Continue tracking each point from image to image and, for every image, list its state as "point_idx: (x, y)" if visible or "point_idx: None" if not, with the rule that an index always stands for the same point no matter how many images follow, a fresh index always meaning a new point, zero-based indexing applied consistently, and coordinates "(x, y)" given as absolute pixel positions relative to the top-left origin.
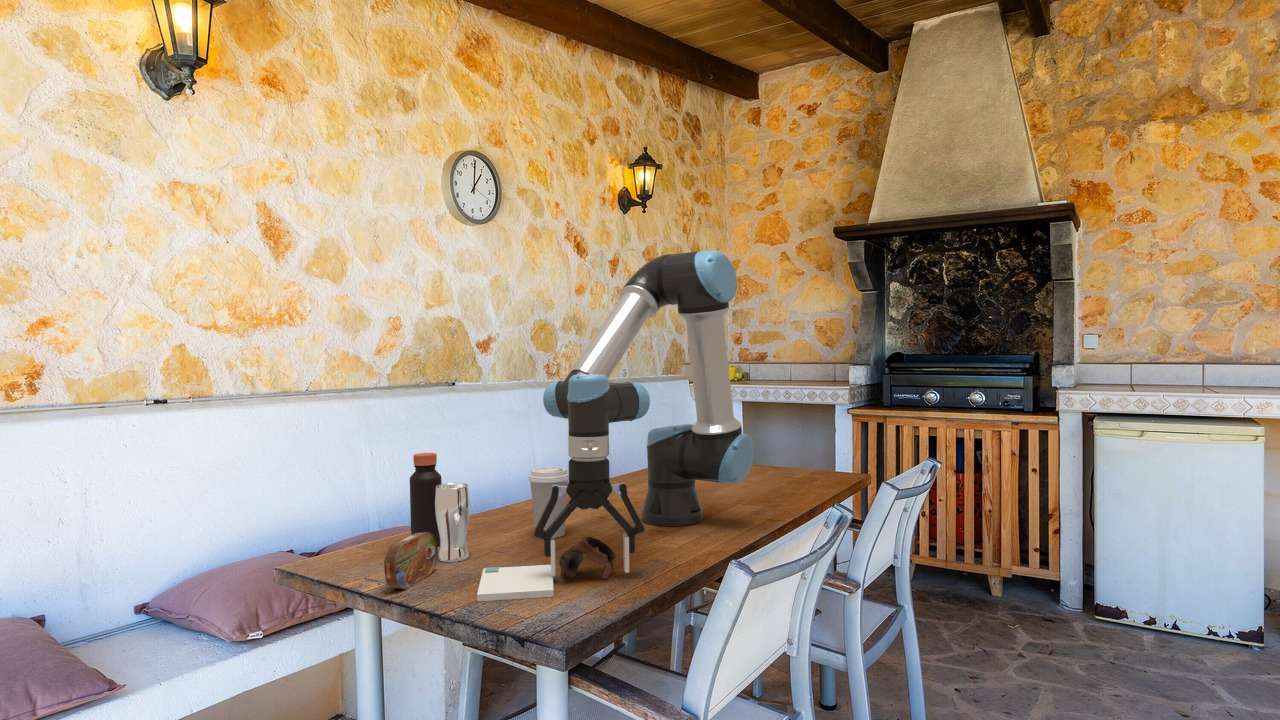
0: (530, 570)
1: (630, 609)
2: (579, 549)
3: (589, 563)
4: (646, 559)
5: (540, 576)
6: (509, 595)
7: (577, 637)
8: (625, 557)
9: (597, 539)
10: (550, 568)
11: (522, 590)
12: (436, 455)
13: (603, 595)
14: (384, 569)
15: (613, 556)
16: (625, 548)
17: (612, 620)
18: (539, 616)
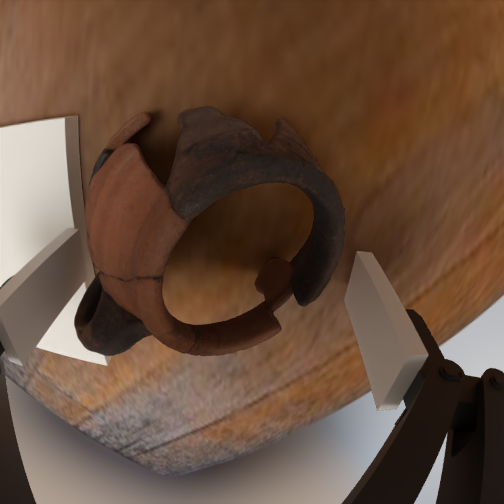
0: (10, 182)
1: (281, 436)
2: (138, 315)
3: (239, 31)
4: (481, 75)
5: None
6: None
7: (182, 469)
8: (358, 340)
9: (259, 182)
10: (61, 171)
11: (41, 342)
12: None
13: (239, 378)
14: None
15: (320, 290)
16: (367, 368)
17: (238, 455)
18: (111, 415)
